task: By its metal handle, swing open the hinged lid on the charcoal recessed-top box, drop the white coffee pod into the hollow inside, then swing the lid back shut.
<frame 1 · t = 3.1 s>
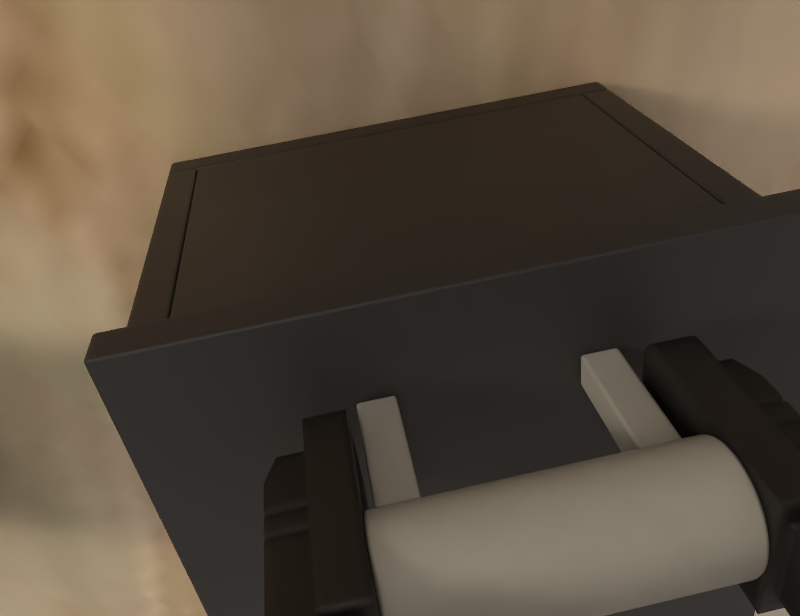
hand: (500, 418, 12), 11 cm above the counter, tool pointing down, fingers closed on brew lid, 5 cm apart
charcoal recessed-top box: (420, 336, 25), on the counter
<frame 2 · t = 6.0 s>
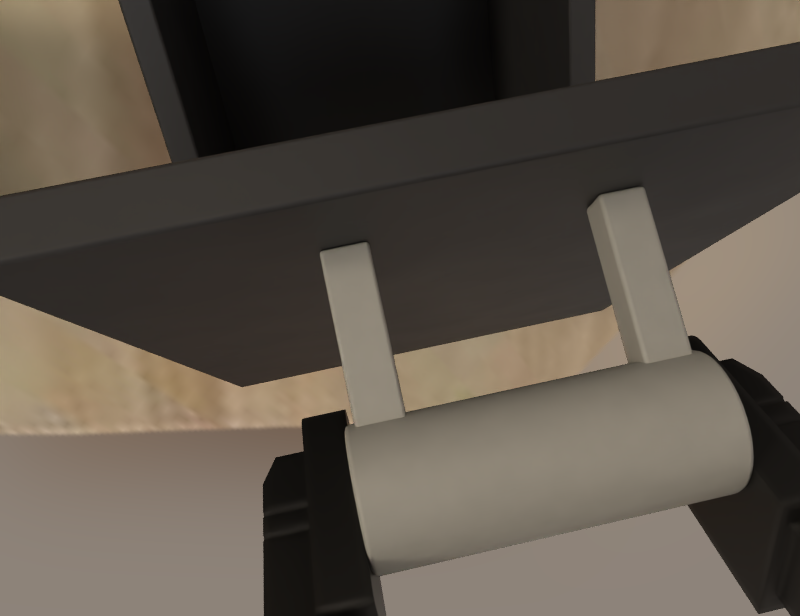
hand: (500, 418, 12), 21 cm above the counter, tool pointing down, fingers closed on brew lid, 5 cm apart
brew lid: (463, 380, 16), point 18 cm above the counter, hinge at 47.8°, touching gripper
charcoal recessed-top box: (350, 40, 29), on the counter
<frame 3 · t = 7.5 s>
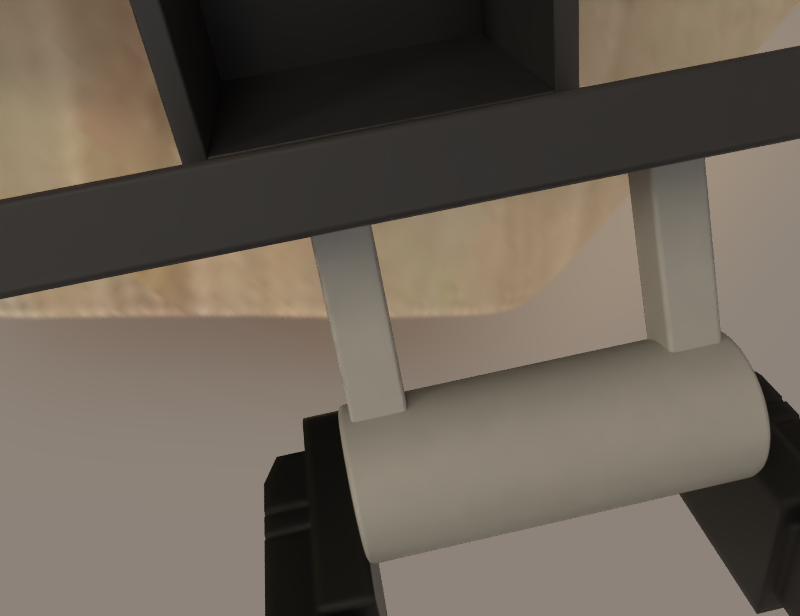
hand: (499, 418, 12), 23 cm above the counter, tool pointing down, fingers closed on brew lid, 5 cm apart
brew lid: (445, 258, 15), point 19 cm above the counter, hinge at 69.7°, touching gripper
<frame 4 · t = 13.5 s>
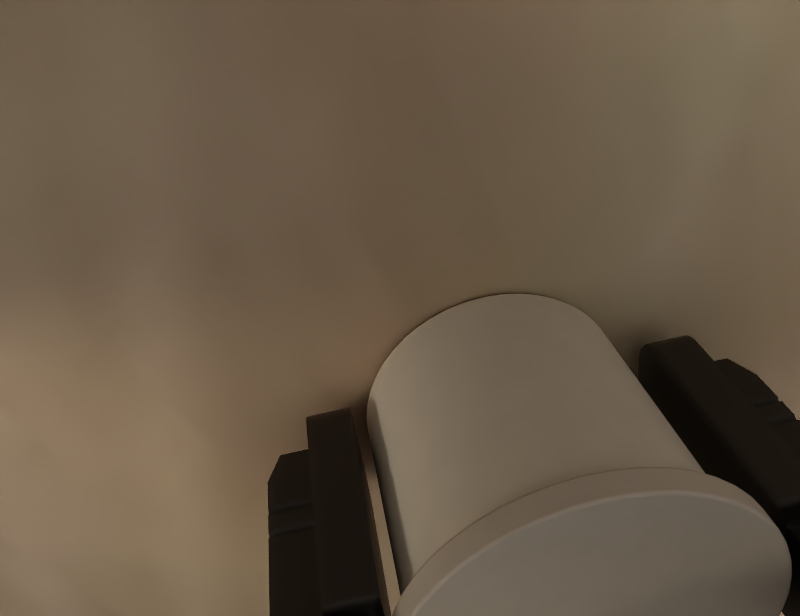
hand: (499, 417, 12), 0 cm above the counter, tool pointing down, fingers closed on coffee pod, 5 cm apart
coffee pod: (492, 401, 12), on the counter, touching gripper
when the fingers open (15 cm above the counter, at t = 18.5 s): coffee pod drops 12 cm and tips over, resting on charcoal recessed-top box.
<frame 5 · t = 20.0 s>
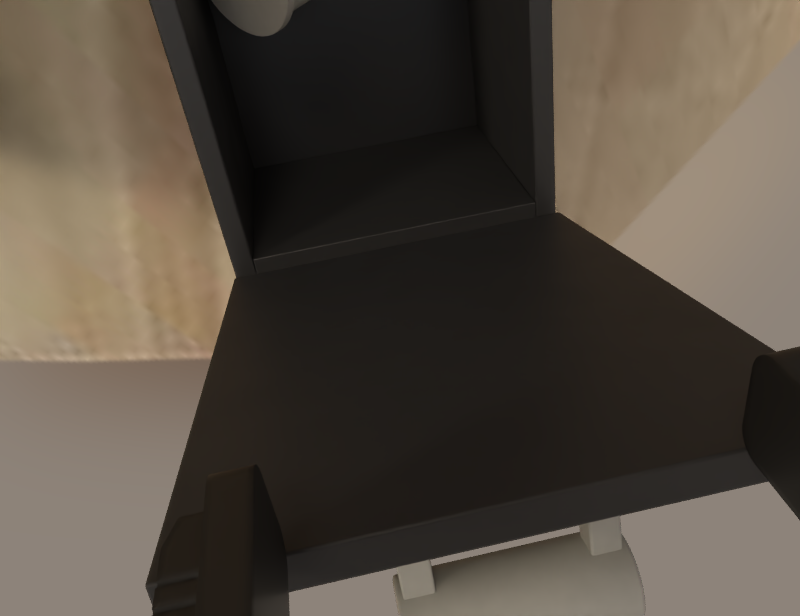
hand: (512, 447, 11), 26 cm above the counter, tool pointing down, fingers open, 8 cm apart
brew lid: (450, 404, 20), point 19 cm above the counter, hinge at 76.7°, touching gripper
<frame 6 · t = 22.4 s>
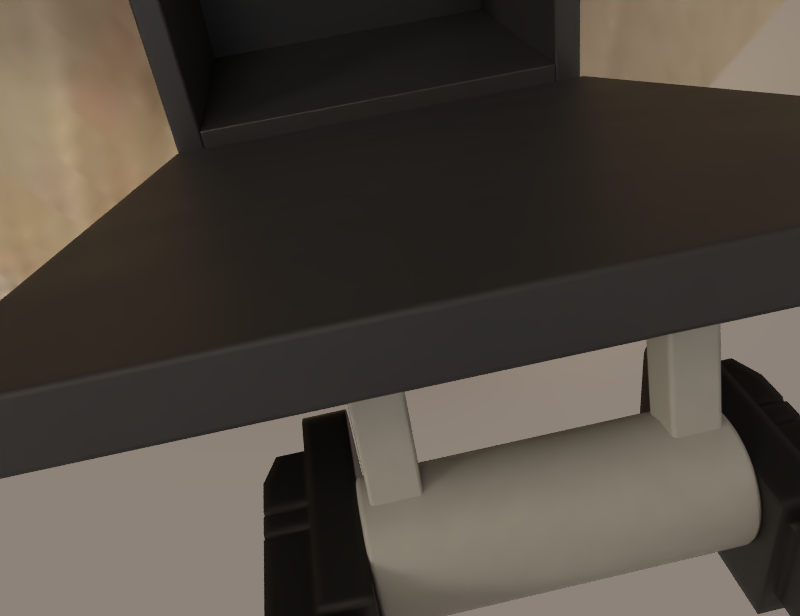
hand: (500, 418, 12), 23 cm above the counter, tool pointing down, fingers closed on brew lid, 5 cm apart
brew lid: (448, 274, 15), point 19 cm above the counter, hinge at 77.0°, touching gripper
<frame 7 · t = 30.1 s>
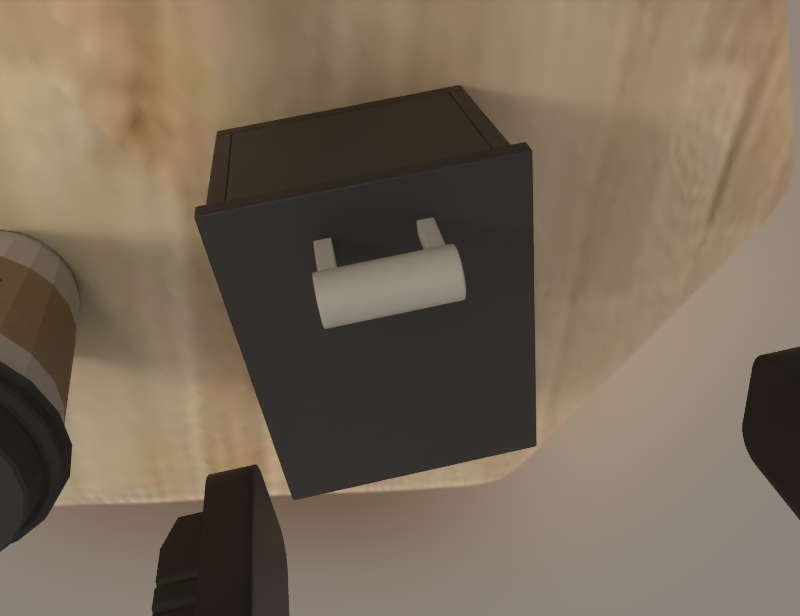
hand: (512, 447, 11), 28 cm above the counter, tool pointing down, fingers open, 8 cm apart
coffee cup: (9, 286, 39), on the counter
brew lid: (402, 379, 30), point 13 cm above the counter, hinge at 4.0°
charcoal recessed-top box: (365, 241, 41), on the counter
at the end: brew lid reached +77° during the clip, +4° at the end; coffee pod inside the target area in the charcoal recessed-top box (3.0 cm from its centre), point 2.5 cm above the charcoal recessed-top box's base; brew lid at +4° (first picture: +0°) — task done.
